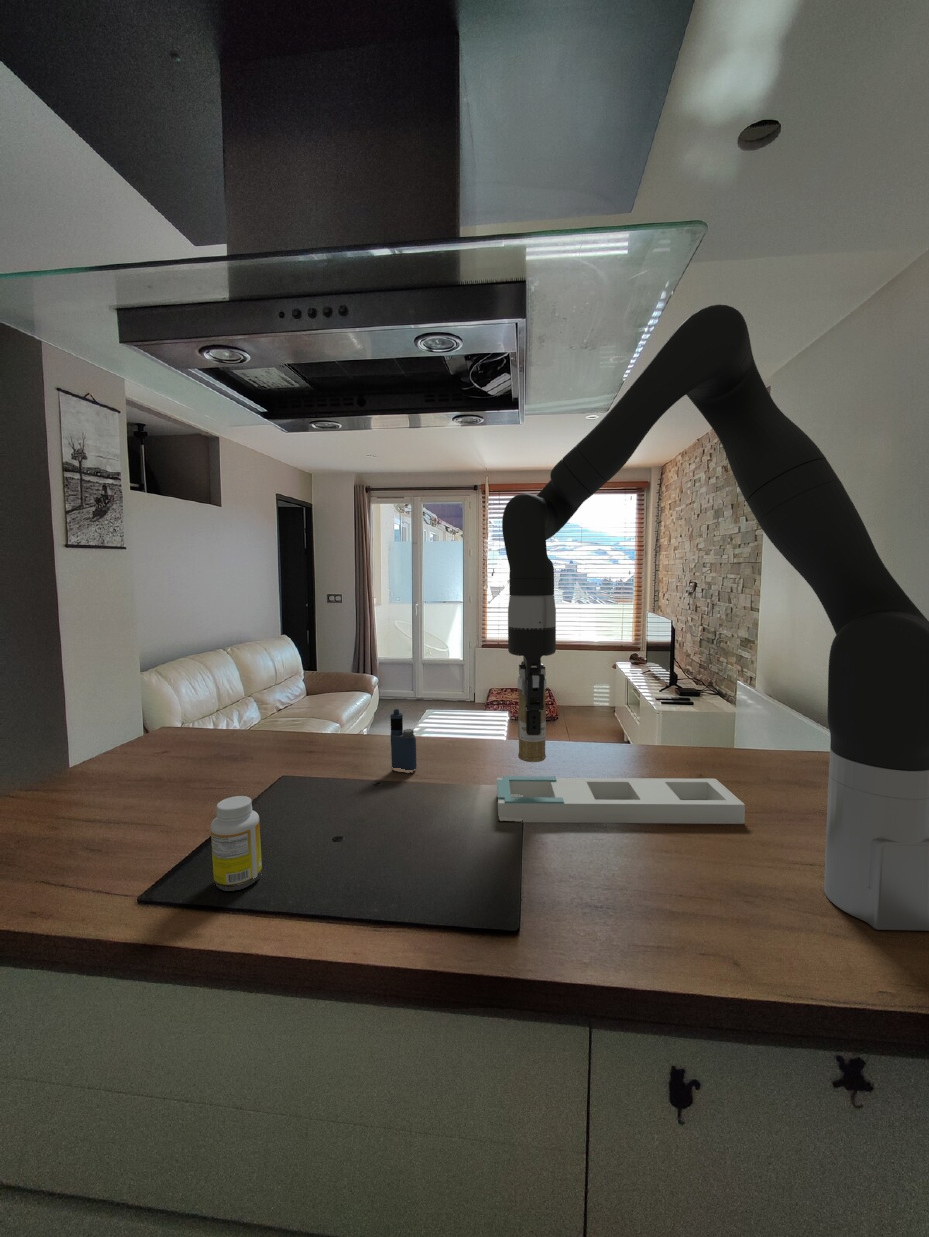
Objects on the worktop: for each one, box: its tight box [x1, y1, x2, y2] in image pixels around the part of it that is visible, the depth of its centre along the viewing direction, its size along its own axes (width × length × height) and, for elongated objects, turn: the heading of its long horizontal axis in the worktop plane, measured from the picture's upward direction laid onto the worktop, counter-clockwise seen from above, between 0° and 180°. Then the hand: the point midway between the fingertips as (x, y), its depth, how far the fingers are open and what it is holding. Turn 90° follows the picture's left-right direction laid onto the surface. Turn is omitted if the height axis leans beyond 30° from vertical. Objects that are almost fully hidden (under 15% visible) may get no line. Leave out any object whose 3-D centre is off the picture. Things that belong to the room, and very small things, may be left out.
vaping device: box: [389, 708, 418, 770], centre depth 100 cm, size 3×5×12 cm, turn 67°
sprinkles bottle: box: [517, 675, 547, 763], centre depth 83 cm, size 5×5×13 cm
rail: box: [496, 775, 746, 825], centre depth 83 cm, size 10×37×3 cm, turn 88°
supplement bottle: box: [210, 795, 263, 887], centre depth 64 cm, size 6×6×10 cm
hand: (531, 729), depth 83 cm, fingers closed on sprinkles bottle, 4 cm apart
